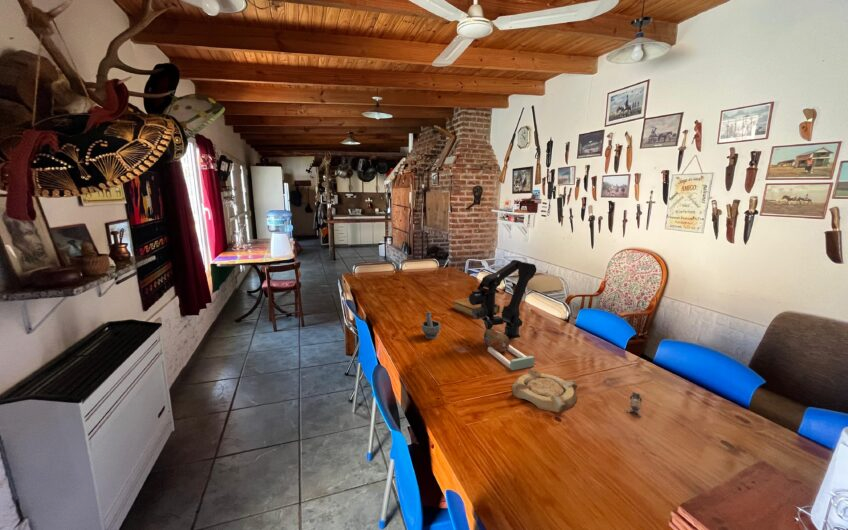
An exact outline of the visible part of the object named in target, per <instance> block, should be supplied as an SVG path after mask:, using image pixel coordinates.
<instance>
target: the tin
mask: <svg viewBox="0 0 848 530" xmlns="http://www.w3.org/2000/svg"><path fill="white" fill-rule="evenodd" d="M503 333H504V332H501V331H499V330H496V329H494V328H491V329H487V330H486V329H485V331H484V333H483V334H484V335H483V340H484V343H485V344H486V345H487V346H488V347H492V348H493V349H494V350H496V351H497V352H499V353H503V352H506V351H507V349H508V348H509V345H510V338H509V337H508V336H506V335H505V334H503Z"/></svg>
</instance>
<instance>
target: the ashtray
mask: <svg viewBox="0 0 848 530" xmlns="http://www.w3.org/2000/svg"><path fill="white" fill-rule="evenodd" d="M578 387H579V386H578V383H576V381H574V380H573V379H570V380H567V381H566V380H564V379H563V378H560V377H558V376H555V375H553V374H549V373H548V374H547V373H541V372H539V371H538V370H536V369H532V368H529V369H528V373H525V374H522V375H521V376H519V377H518V378H516V380H515V382H514V383H513V384H512V387H511V390H512V391H511V392H512V395H513V396H514V397H516V398H517V399H523V400H527V401H529V402H531V403H533V405H535V406H536V408H539V409H541V410H546V411H551V412H557V413H562V412H565V411H566V410H567V409H570V408H572V407H574V406H575V405H576V403H577V402H578V395H577V393H576V391H577V388H578Z"/></svg>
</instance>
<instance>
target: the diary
mask: <svg viewBox="0 0 848 530" xmlns="http://www.w3.org/2000/svg"><path fill="white" fill-rule="evenodd" d="M452 302H453V303H454V307H453V308H452V309H454V310H455V311H457V312H460V313H462V314H466V315H467V316H471V317H473V314H472V310H474V309H476V308H478V307H481V304H478V305H471V303H470V301H469V297H466V298H461V299H460V298H459V299H457V300H453V301H452ZM495 304H496V305H497V307H495V312H496V315H497V314H500V313H501V306H500V304H498V303H495Z"/></svg>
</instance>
